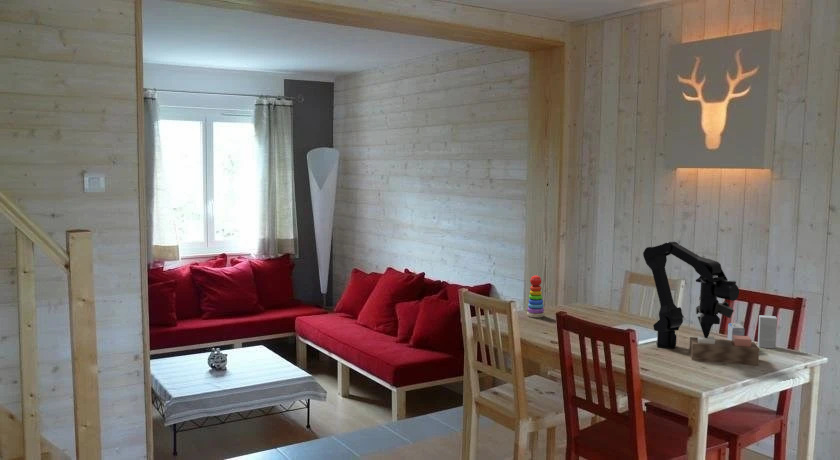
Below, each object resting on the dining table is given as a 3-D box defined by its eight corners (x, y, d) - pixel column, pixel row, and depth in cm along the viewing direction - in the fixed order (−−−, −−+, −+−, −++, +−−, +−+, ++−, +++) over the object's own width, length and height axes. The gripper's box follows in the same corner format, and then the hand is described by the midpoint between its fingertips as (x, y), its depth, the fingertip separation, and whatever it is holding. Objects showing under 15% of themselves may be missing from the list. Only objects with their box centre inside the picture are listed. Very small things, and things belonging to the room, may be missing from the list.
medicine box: (743, 350, 270) (745, 328, 269) (731, 349, 270) (732, 327, 270) (738, 345, 277) (740, 323, 276) (726, 344, 278) (727, 322, 277)
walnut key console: (691, 359, 256) (692, 343, 255) (689, 352, 265) (690, 337, 265) (758, 365, 250) (759, 349, 249) (752, 357, 259) (753, 342, 259)
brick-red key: (734, 349, 254) (734, 338, 253) (731, 345, 259) (732, 335, 258) (750, 350, 252) (751, 340, 252) (748, 347, 257) (748, 336, 257)
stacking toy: (543, 314, 326) (545, 274, 324) (545, 318, 318) (546, 277, 317) (526, 313, 327) (527, 273, 325) (527, 317, 319) (528, 276, 317)
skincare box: (774, 346, 276) (776, 316, 275) (775, 348, 272) (777, 318, 271) (757, 344, 278) (759, 314, 277) (758, 347, 274) (760, 317, 273)
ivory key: (698, 349, 257) (699, 338, 256) (696, 345, 262) (697, 335, 262) (714, 351, 255) (715, 340, 255) (712, 347, 261) (713, 336, 260)
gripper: (736, 302, 246) (733, 346, 247) (728, 292, 263) (726, 333, 265) (702, 300, 249) (699, 343, 250) (696, 290, 266) (694, 331, 268)
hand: (706, 337), depth 258 cm, fingers closed, pressing on ivory key
